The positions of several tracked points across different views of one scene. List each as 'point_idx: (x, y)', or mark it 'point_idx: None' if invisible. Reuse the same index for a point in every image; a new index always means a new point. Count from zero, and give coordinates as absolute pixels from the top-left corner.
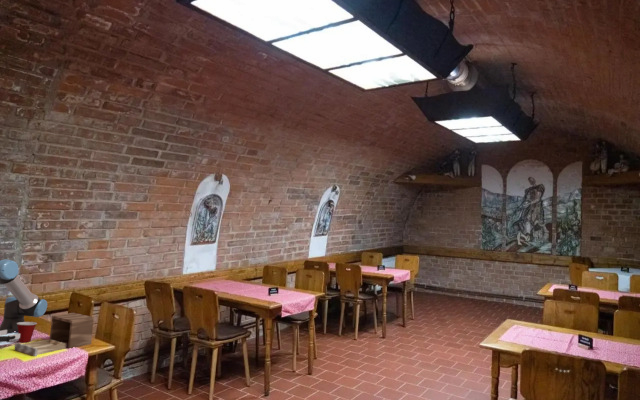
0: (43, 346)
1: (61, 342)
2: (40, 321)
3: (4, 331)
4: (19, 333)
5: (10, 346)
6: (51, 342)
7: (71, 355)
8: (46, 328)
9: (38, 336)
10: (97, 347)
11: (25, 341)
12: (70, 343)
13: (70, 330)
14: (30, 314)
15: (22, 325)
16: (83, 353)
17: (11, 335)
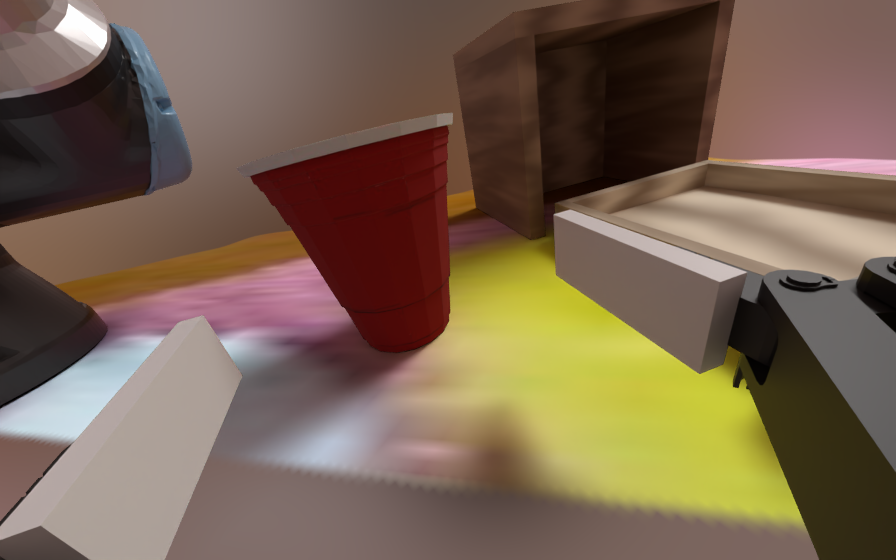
0: (690, 228)
1: (673, 170)
2: (62, 287)
3: (194, 359)
4: (393, 265)
5: (527, 429)
6: (599, 209)
7: (883, 168)
8: (200, 267)
9: (316, 279)
10: None
11: (449, 307)
12: (706, 154)
13: (716, 64)
14: (112, 169)
15: (417, 137)
16: (805, 159)
17: (689, 256)
